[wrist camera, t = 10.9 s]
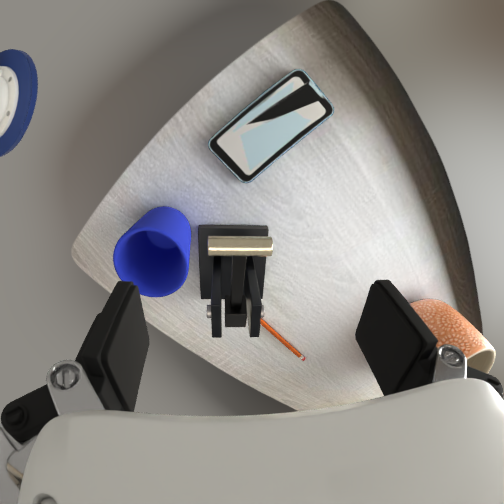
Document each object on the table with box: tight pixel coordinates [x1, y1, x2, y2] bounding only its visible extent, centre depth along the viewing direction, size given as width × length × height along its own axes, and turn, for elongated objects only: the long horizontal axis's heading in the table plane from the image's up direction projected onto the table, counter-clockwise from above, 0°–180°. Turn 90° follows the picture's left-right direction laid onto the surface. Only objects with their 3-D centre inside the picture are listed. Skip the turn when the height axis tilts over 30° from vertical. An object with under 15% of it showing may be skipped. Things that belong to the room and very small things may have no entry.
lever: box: [208, 236, 273, 327], centre depth 26 cm, size 12×5×2 cm, turn 178°
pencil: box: [260, 319, 305, 361], centre depth 46 cm, size 1×18×1 cm, turn 38°
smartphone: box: [208, 69, 334, 183], centre depth 31 cm, size 7×1×15 cm
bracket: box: [198, 225, 268, 338], centre depth 34 cm, size 11×9×13 cm
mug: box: [113, 206, 191, 297], centre depth 32 cm, size 8×12×10 cm
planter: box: [410, 299, 495, 374], centre depth 41 cm, size 21×21×19 cm
